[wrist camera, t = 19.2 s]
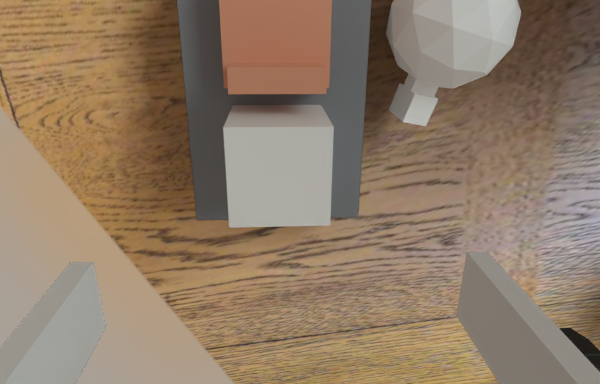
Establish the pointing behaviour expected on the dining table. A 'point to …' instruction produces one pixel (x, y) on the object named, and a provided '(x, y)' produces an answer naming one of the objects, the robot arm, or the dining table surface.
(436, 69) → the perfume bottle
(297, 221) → the plug
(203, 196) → the socket board
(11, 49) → the dining table surface
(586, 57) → the dining table surface
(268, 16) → the orange l-shaped block
